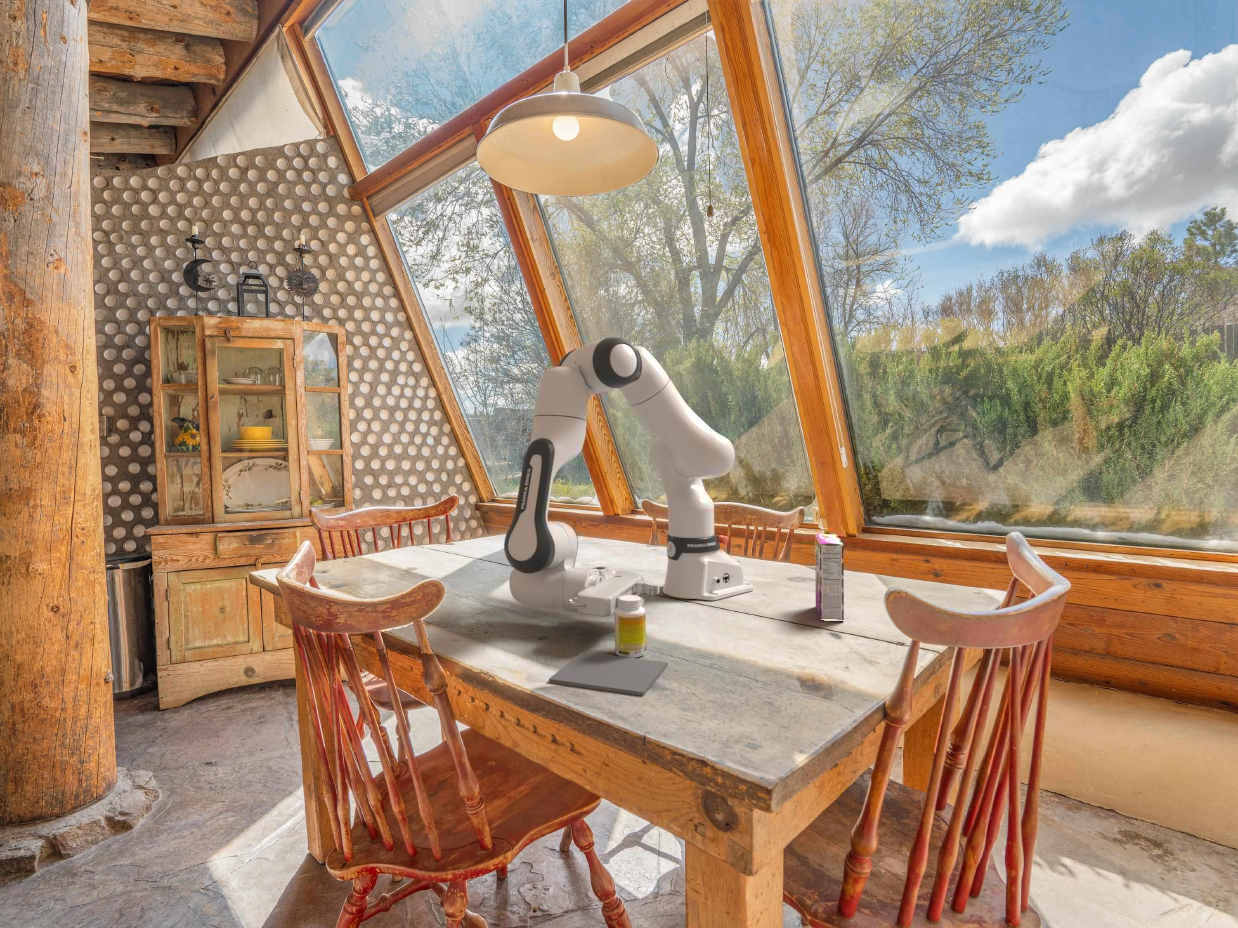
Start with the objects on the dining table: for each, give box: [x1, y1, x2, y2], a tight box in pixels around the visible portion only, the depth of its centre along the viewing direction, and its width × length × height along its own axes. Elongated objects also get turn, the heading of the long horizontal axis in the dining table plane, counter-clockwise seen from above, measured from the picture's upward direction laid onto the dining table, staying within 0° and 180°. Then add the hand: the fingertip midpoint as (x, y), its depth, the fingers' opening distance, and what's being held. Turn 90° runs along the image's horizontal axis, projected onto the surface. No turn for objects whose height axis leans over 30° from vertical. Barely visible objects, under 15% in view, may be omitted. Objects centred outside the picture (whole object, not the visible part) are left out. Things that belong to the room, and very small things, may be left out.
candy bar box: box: [814, 533, 845, 621], centre depth 138 cm, size 11×5×16 cm, turn 168°
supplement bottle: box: [613, 595, 647, 658], centre depth 116 cm, size 6×6×10 cm
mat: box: [548, 651, 669, 697], centre depth 107 cm, size 13×16×1 cm
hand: (651, 596), depth 125 cm, fingers open, 8 cm apart
